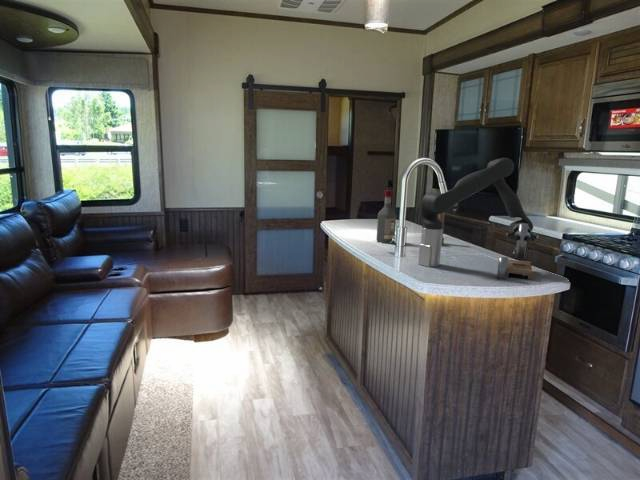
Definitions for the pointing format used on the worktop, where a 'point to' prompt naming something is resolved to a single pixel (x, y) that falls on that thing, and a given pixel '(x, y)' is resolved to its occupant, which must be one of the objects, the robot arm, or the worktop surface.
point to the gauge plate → (519, 268)
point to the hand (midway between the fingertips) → (522, 238)
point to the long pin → (521, 240)
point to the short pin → (502, 268)
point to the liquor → (386, 221)
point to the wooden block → (441, 218)
